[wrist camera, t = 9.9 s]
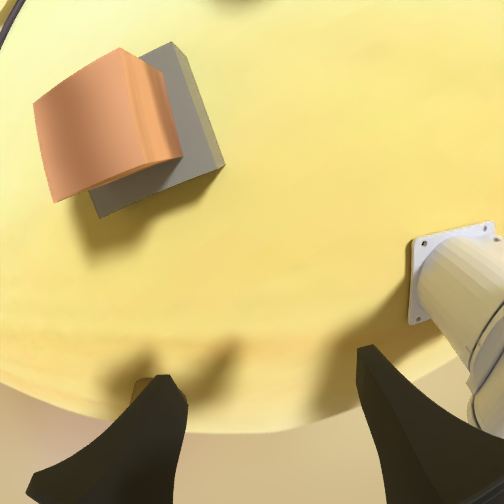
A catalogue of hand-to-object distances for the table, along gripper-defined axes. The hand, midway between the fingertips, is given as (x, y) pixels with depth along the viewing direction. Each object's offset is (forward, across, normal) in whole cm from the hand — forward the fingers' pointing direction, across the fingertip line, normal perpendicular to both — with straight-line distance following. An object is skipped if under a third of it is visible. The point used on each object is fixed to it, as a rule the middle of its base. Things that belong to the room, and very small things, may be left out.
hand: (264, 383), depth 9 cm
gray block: (+11, +5, -11) cm, 16 cm away
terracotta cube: (+7, +5, -11) cm, 14 cm away
